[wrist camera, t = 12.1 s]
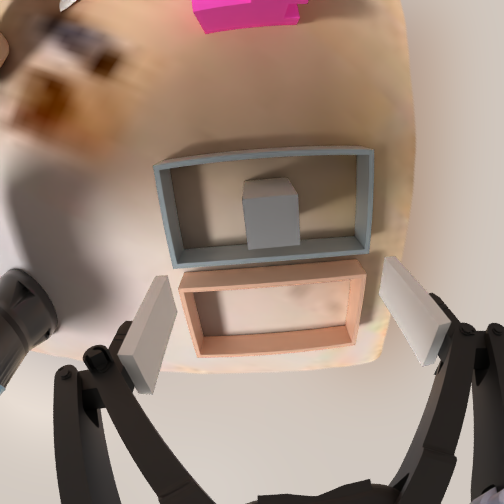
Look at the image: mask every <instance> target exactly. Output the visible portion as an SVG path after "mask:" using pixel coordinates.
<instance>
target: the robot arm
mask: <svg viewBox="0 0 504 504" xmlns="http://www.w3.org/2000/svg"><path fill="white" fill-rule="evenodd" d="M379 296H380V297H381V299H382V300H383V302H384V303H385V305H386V307H387V308H388V310H389V311H390V313H391V315H392V316H393V318H394V319H395V321H396V323H397V324H398V326H399V328H400V329H401V331H402V333H403V334H404V336H405V338H406V339H407V341H408V343H409V345H410V346H411V348H412V350H413V352H414V353H415V355H416V357H417V359H418V360H419V362H420V364H421V366H422V367H423V366H427V365H430V364H433V363H434V362H435V360H436V358H437V355H438V356H439V358H440V359H441V361H440V363H439V365H438V367H437V369H436V371H435V375H436V376H435V380H434V383H433V386H432V390H431V393H430V396H429V399H428V402H427V405H426V408H425V410H424V413H423V416H422V419H421V421H420V424H419V426H418V429H417V431H416V434H415V436H414V438H413V441H412V443H411V445H410V448H409V450H408V452H407V454H406V457H405V459H404V461H403V463H402V465H401V467H400V469H399V471H398V472H397V474H396V476H395V477H394V478H393V480H392V481H391V483H390V484H389V486H387V485H381V484H371V481H370V479H368V480H364V481H360V482H355V483H351V484H346V485H343V486H341V487H338V488H336V489H334V490H332V491H329V492H326V493H324V494H321V495H319V496H301V495H292V494H278V495H263V496H258V500H257V501H253V502H250V503H247V504H441V501H442V499H443V497H444V494H445V492H446V490H447V487H448V485H449V482H450V479H451V477H452V474H453V471H454V468H455V465H456V462H457V458H456V457H455V456H454V453H455V449H456V446H457V443H458V439H459V436H460V432H461V429H462V424H463V420H464V416H465V412H466V408H467V403H468V398H469V392H470V387H471V382H472V394H473V410H474V453H473V454H474V455H473V470H472V480H471V503H470V504H504V327H503V326H502V325H500V324H497V323H491V324H489V326H488V328H487V330H486V331H476V330H475V328H474V327H473V326H471V325H470V324H467V323H460V322H459V320H458V319H457V318H456V317H455V315H454V314H453V313H452V312H451V310H450V309H448V307H447V306H446V304H444V302H443V301H442V300H441V298H440V297H438V296H436V295H435V294H433V293H429V294H428V293H427V292H426V290H425V289H424V288H423V287H422V286H421V285H420V283H419V282H418V281H417V280H416V279H415V278H414V276H413V275H412V274H411V273H410V272H409V271H408V270H407V269H406V268H405V266H404V265H403V264H402V263H401V262H400V261H399V260H398V259H397V258H396V257H395V256H390V257H384V265H383V271H382V278H381V284H380V290H379ZM176 315H177V309H176V305H175V302H174V298H173V294H172V291H171V287H170V283H169V279H168V275H165V276H156V277H155V278H154V280H153V282H152V284H151V286H150V288H149V290H148V292H147V294H146V296H145V298H144V300H143V302H142V304H141V306H140V308H139V310H138V312H137V314H136V316H135V318H134V320H133V321H125V322H124V323H123V324H122V325H121V326H120V327H119V329H118V331H117V333H116V335H115V337H114V339H113V341H112V343H111V345H110V347H109V349H107V348H106V346H103V345H96V346H93V347H91V348H89V349H88V350H87V351H86V352H85V353H84V355H83V361H84V363H85V365H86V366H87V368H88V369H89V370H84V371H77V369H76V368H75V367H74V366H73V365H65V366H63V367H61V368H60V369H58V371H57V372H56V374H55V379H54V405H53V410H54V411H53V419H54V420H53V423H54V448H55V461H56V471H57V479H58V487H59V493H60V499H61V504H121V501H120V498H119V494H118V491H117V488H116V484H115V480H114V476H113V472H112V468H111V464H110V460H109V455H108V450H107V445H106V440H105V434H104V429H103V423H102V417H101V410H100V408H106V409H107V411H108V413H109V415H110V417H111V419H112V421H113V423H114V425H115V427H116V429H117V431H118V433H119V435H120V437H121V439H122V440H123V442H124V444H125V446H126V448H127V449H128V451H129V453H130V454H131V456H132V458H133V460H134V461H135V463H136V464H137V466H138V468H139V469H140V471H141V472H142V474H143V475H144V477H145V479H146V480H147V482H148V483H149V484H150V486H151V487H152V489H153V490H154V492H155V493H156V494H157V496H158V499H159V502H160V504H216V503H215V502H214V501H213V500H212V499H211V498H210V497H209V496H208V495H207V493H206V492H205V491H204V490H203V489H202V488H201V487H200V486H199V484H198V483H197V482H196V481H195V480H194V479H193V478H192V476H191V475H190V474H189V473H188V471H187V470H186V469H185V468H184V467H183V465H182V464H181V463H180V462H179V460H178V459H177V458H176V456H175V455H174V454H173V452H172V451H171V450H170V449H169V447H168V446H167V444H166V443H165V442H164V441H163V439H162V437H161V436H160V435H159V433H158V432H157V430H156V429H155V427H154V426H153V424H152V423H151V422H150V420H149V418H148V417H147V416H146V414H145V412H144V411H143V409H142V408H141V406H140V404H139V403H138V401H137V400H136V398H135V397H134V395H133V389H134V387H135V388H136V390H137V391H138V393H140V394H152V395H153V392H154V389H155V385H156V382H157V378H158V375H159V371H160V368H161V364H162V361H163V357H164V354H165V351H166V347H167V344H168V341H169V337H170V334H171V331H172V328H173V325H174V321H175V318H176ZM56 327H57V316H56V312H55V309H54V306H53V304H52V302H51V300H50V298H49V297H48V295H47V294H46V292H45V291H44V290H43V288H42V287H41V286H40V285H39V284H38V283H37V282H36V281H35V280H34V279H33V278H32V277H31V276H29V275H28V274H26V273H25V272H23V271H20V270H16V269H12V270H9V271H7V272H6V273H5V274H4V275H3V276H2V277H1V278H0V395H1V394H2V392H3V391H5V388H6V386H7V384H8V383H9V381H10V379H11V378H12V376H13V374H14V373H15V371H16V370H17V368H18V366H19V365H20V364H21V362H22V361H23V359H24V357H25V356H26V354H27V353H28V352H29V351H30V350H31V349H32V348H34V347H36V346H37V345H39V344H40V343H42V342H44V341H45V340H47V339H48V338H49V337H50V336H51V335H52V334H53V332H54V331H55V329H56Z"/></svg>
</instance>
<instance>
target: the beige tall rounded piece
mask: <svg viewBox="0 0 504 504" xmlns="http://www.w3.org/2000/svg"><path fill="white" fill-rule="evenodd" d="M8 54H9V45H8V42H7V40H6V39H5V37H4V36H3V35H2V34H1V33H0V67H1V66H2V64H3V63H4V61H5V59H6V58H7V56H8Z"/></svg>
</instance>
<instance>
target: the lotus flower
mask: <svg viewBox="0 0 504 504" xmlns="http://www.w3.org/2000/svg"><path fill="white" fill-rule="evenodd" d="M75 1H76V0H61V1H60V4H59V8H60V11H63V10H65V9H66V8H68V7H69V6H70V5H72V4H73V3H74V2H75Z"/></svg>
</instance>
